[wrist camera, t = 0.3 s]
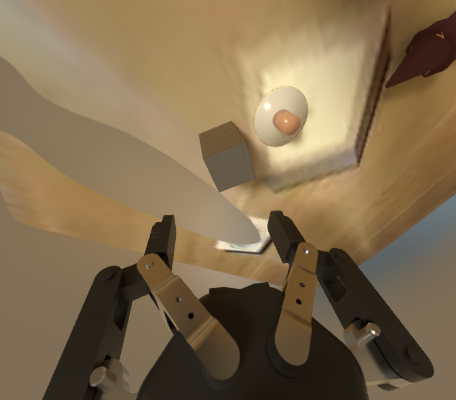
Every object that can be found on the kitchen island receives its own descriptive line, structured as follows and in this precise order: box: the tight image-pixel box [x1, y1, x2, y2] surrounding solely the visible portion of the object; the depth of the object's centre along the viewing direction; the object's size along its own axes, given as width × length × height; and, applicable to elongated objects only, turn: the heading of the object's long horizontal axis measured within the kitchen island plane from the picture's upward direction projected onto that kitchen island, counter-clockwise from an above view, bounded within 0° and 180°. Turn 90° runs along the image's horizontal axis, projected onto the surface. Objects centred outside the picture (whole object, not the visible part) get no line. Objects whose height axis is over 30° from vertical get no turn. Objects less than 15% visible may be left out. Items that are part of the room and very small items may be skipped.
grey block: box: [199, 121, 256, 192], centre depth 29 cm, size 6×6×10 cm
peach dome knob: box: [273, 109, 301, 136], centre depth 30 cm, size 3×3×4 cm
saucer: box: [253, 86, 308, 146], centre depth 32 cm, size 10×10×1 cm
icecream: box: [385, 12, 456, 88], centre depth 27 cm, size 7×7×15 cm
